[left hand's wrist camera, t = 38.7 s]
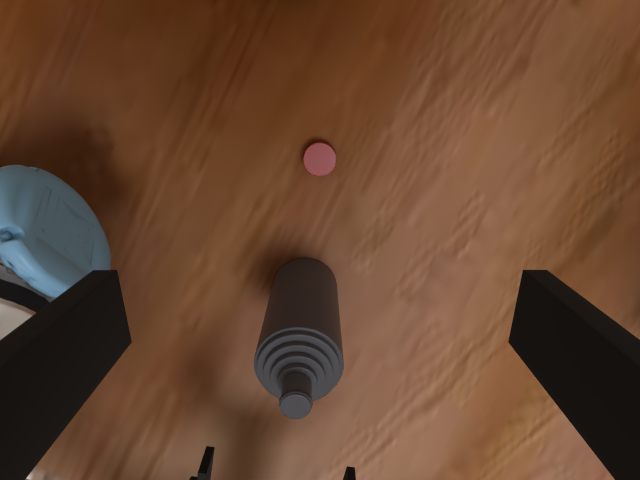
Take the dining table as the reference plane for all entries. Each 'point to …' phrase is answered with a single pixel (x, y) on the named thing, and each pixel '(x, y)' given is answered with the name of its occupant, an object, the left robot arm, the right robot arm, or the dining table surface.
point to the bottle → (300, 337)
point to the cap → (319, 158)
